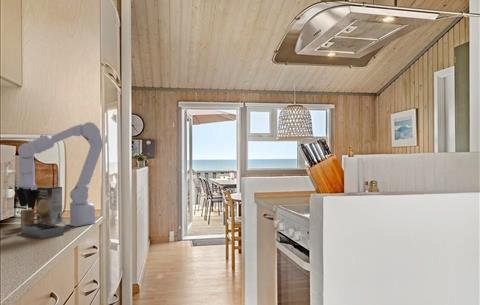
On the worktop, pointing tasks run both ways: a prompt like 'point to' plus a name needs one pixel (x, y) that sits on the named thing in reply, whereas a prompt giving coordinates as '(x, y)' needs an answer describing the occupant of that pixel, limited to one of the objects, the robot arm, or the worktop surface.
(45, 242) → the worktop surface
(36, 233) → the grey shallow tray
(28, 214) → the walnut peg
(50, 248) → the worktop surface
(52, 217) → the coffee box
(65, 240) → the worktop surface
